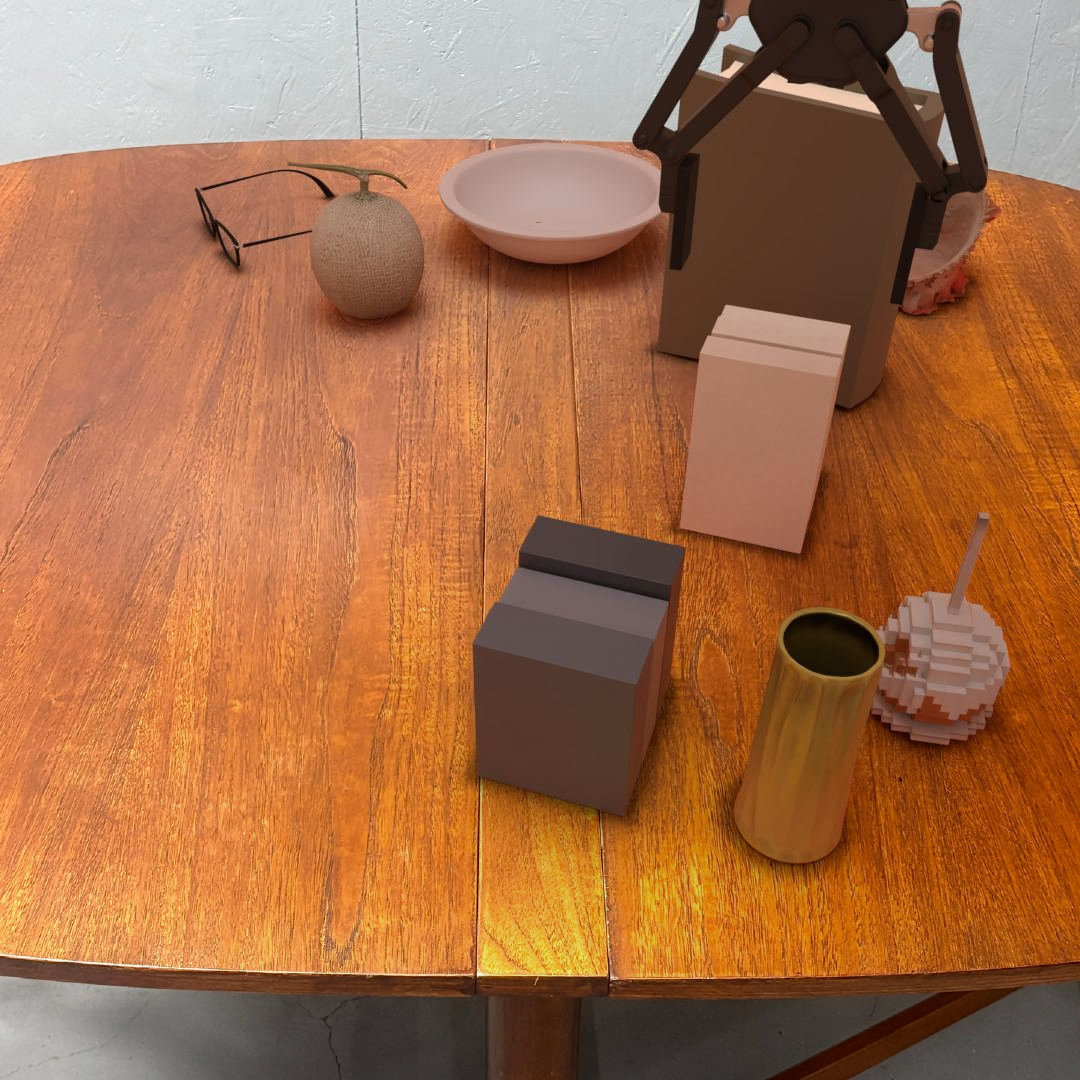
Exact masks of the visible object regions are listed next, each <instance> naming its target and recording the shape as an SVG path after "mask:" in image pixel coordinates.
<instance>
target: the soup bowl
mask: <svg viewBox="0 0 1080 1080" xmlns="http://www.w3.org/2000/svg"><path fill="white" fill-rule="evenodd" d="M660 178H661V169H659V168H658V167H656V165H653V164H652V163H650V162H649V161H646V160H644V159H642V158H640V157H637V156H636V155H633V154H630V153H626V152H624V151H621V150H617V149H612V148H608V147H605V146H598V145H591V144H583V143H574V142H573V143H572V142H531V143H521V144H512V145H507V146H501V147H497V148H493V149H489V150H484V151H481V152H479V153H476V154H473V155H470V156H468V157H467V158H464V159H462V160H460V161H459V162H456V163H455V164H454V165H453V166H451V167H450V168H449V169H448V170H446V172H444V174H443V175H442V177H441V179H440V180H439V184H438V196H439V199H440V201H441V203H442V205H443V206H444V208H445V209H446V210H447V211H448V212H449V213H450V214H452V215H453V216H454V217H455V218H457V219H459V220H460V221H462V222H463V223H464V224H465V226H466V227H467V228H468V229H469V230H470V231H471V233H472V234H474V235H475V236H476V238H478V239H479V240H481V241H482V242H483V243H484V244H486V246H488V247H490V248H492V249H493V250H495V251H497V252H499V253H501V254H504V255H505V256H508V257H511V258H514V259H518V260H521V261H525V262H530V263H531V262H532V263H537V264H546V265H547V264H548V265H567V264H576V263H585V262H589V261H592V260H596V259H599V258H602V257H604V256H606V255H610V254H611V253H614V252H616V251H617V250H620V249H621V248H623V247H624V246H626V245H627V244H628V243H630V242H631V241H632V240H634V238H636V237H637V236H638V235H639V234H640V233H641V232H642V230H643V229H645V227H646V226H647V225H648V224H650V223H652V222H653V221H654V220H657V219H658V218H659V217H660V216H662V215H663V214H664V212H661V210H660V207H659V204H658V203H659V190H660ZM541 221H542V222H541ZM536 222H541V223H536ZM529 225H530V226H529Z"/></svg>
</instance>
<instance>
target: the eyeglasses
mask: <svg viewBox="0 0 1080 1080" xmlns="http://www.w3.org/2000/svg"><path fill="white" fill-rule="evenodd" d="M280 172H288V173H296V174H300V175H303V176H305V177H307V178H310V179H311V180H312V181H313V182H314V183H315V184H316V185H317V186H318V187H319V189H320V190H321V192H322V193H323V194H324V196H325V197H326V198H329V199H330V198H333V199H334V198H336V195H335V194H334V193H333V192H332V190H331V189H330V188H329V187H328V186H327V185H326V184H325V182H324V181H322V180H321V179H320V178H318V177H316V176H315V175H312V174H311V173H308V172H305V171H302V170H297V169H286V168H285V169H276V170H271V171H266V172H261V173H257V174H252V175H248V176H244V177H239V178H236V179H232V180H227V181H224V182H220V183H216V184H211V185H208V186H203V187H199V188H198V187H195V188H194V194H195V196H196V198H197V201H198V204H199V207H200V211H201V215H202V218H203V220H204V224H205V226H206V228H207V230H208V232H209V233H210V235H211V237H212V238H213V239H218V240H219V241H218V242H219V243H220V246H221V248H222V251H223V253H224V255H225V256H226V258H227V259H228V260H229V262H230V263H231V264H232V265H234V266H235V267H237V268H238V267H240V266H241V256H240V249H246V248H251V247H254V246H259V245H263V244H267V243H271V242H275V241H279V240H284V239H288V238H292V237H297V236H301V235H305V234H310V233H312V230H313V229H309V230H305V231H304V230H303V231H300V232H295V233H290V234H285V235H280V236H276V237H271V238H266V239H261V240H257V241H251V242H245V243H243V244H239V242H238V240H237V239H236V238H235V236H234V235H233V233H231V231H230V230H229V229H228V228H227V227H226V226H225V225H224V224H223V223H222V222H221V221H219V220H218V219H215V218H214V216H213V213H212V211H211V209H210V207H209V206H208V204H207V202H206V201H205V198H204V197H203V194H202V193H201V192H205V191H209V190H213V189H216V188H219V187H223V186H227V185H231V184H234V183H237V182H242V181H245V180H249V179H252V178H257V177H260V176H265V175H270V174H275V173H280ZM206 213H207V215H208V218H207V215H206ZM208 219H209V221H210V223H209V221H208ZM210 224H211V226H210ZM223 232H224V233H225V234H226V235H227V237H228V238H229V239H230V241H231V242H232V245H233V248H234V253H235V259H236V260H234V259H233V258H232V257H231V255H230V254H229V252H228V250H227V247H226V246H225V242H224V240H223V239H224V238H225V237H224V236H225V235H224V234H223Z"/></svg>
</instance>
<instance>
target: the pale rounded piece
mask: <svg viewBox="0 0 1080 1080" xmlns="http://www.w3.org/2000/svg"><path fill="white" fill-rule="evenodd" d="M990 521H991V518H990V513H989V512H984V511H983V512H982V511H978V512H977V515H976V518H975V521H974V524H973V526H972V531H971V533H970V536H969V540H968V542H967V545H966V549H965V552H964V554H963V558H962V561H961V563H960V566H959V569H958V573H957V576H956V579H955V582H954V586H953V589H952V591H951V593H946V592H938V591H929V590H928V591H925V592H922V594H921V596H915V595H905V596H904V598H903V601H902V603H901V602H900V604H899V606H898V609H897V612H896V613H892V614H889V617H888V618H887V621H886V624H884V625H879V627H878V629H875V630H876V631H877V633H878V634H879V636H880V637H881V639H882V641H883V643H884V647H885V658H884V662H883V668H882V672H881V676H880V680H879V683H878V686H877V690H876V693H875V696H874V700H873V703H872V706H871V714H872V715H878V716H880V720H881V723H886V724H887V723H888V724H890V730H891V731H896V732H901V733H908V734H909V738H910V740H911V741H917V742H924V743H931V744H939V745H946V746H949V744H950V742H951V739H952V740H957V741H958V740H959V741H965V742H966V741H968V738H969V735H970V736H976V734H977V731H978V730H981V731H983V730H984V729H985V727H986V724H987V723H986V718H992V716H993V713H994V707H993V706H994V704H995V701H996V699H997V696H998V694H999V693H1002V690H1003V687H1004V685H1005V682H1006V680H1007V678H1008V674H1009V672H1010V670H1011V663H1010V657H1009V651H1008V645H1007V641H1006V640H1004V634H1003V629H1002V626H999V625H996V622H995V621H996V620H995V618H991V613H990V612H988V610H984V605H983V604H979V603H978V604H977V603H976V604H975V603H971V601H970V600H969V601H968V600H967V596H966V592H967V589H968V586H969V583H970V580H971V578H972V574H973V572H974V568H975V565H976V562H977V559H978V557H979V553H980V550H981V547H982V544H983V542H984V538H985V536H986V532H987V529H988V527H989V524H990Z"/></svg>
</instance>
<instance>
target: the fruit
mask: <svg viewBox="0 0 1080 1080" xmlns="http://www.w3.org/2000/svg"><path fill="white" fill-rule="evenodd" d="M287 166H289V167H297V168H306V169H314V170H320V171H326V172H335V173H341V174H346V175H349V176H353V177H355V178H356V179H357V180H358V181H359V189H355V190H350V191H347V192H345V193H341V194H340V195H338V196H335V197H333V199H332V200H330V201H329V202H328V203H327V204H325V206H324V207H322V209H321V211H320V212H319V213H318V216H317V217H316V219H315V221H314V224H313V227H312V229H311V230H312V232H311V235H310V243H309V255H310V264H311V269H312V272H313V275H314V277H315V280H316V283H317V285H318V287H319V288H320V290H321V292H322V293H323V295H324V296H325V297H326V299H327V300H328V301H329V302H330V304H332V305H333V306H334V307H335V308H336V309H338V310H339V311H340V312H341V313H343V314H345V315H347V316H350V317H354V318H357V319H361V320H362V319H363V320H376V319H382V318H387V317H390V316H393V315H395V314H397V313H399V312H401V311H403V310H404V309H405V308H406V307H407V306H408V305H409V304H410V303H411V302H412V300H413V299H414V298H415V297H416V295H417V293H418V291H419V289H420V286H421V283H422V280H423V276H424V271H425V246H424V242H423V237H422V234H421V231H420V228H419V225H418V224H417V221H416V220H415V218H414V215H413V214H412V213H411V212H410V211H409V210H408V208H407V207H406V206H404V205H403V203H401V202H400V201H399V200H397V199H395V198H394V197H392V196H390V195H385V194H382V193H381V192H377V191H372V190H369V185H370V176H383V177H386V178H389V179H392V180H394V181H395V182H397V183H398V184H399V185H400V186H402V188H403V189H405V190H407V189H408V185H407V184H406V183H405V182H404V181H403V180H402V179H401V178H400V177H399V176H396V175H394V174H393V173H390V172H388V171H387V172H386V171H383V170H379V169H368V168H357V167H353V166H352V167H351V166H347V165H341V164H328V163H327V164H326V163H323V164H322V163H299V162H292V161H287Z"/></svg>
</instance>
